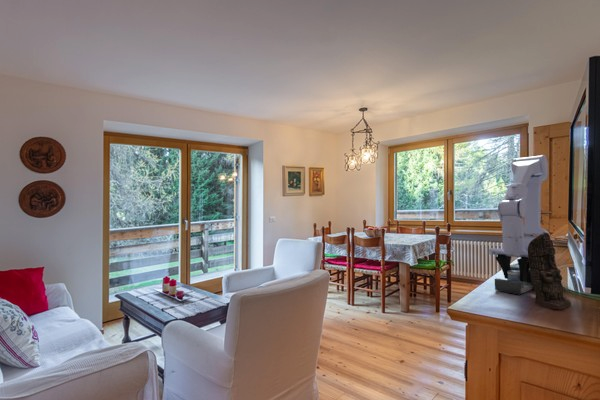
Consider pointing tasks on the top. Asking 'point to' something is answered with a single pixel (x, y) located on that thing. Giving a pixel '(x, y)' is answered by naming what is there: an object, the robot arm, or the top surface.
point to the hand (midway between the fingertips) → (515, 279)
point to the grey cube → (514, 276)
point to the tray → (512, 286)
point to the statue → (546, 273)
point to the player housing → (516, 267)
